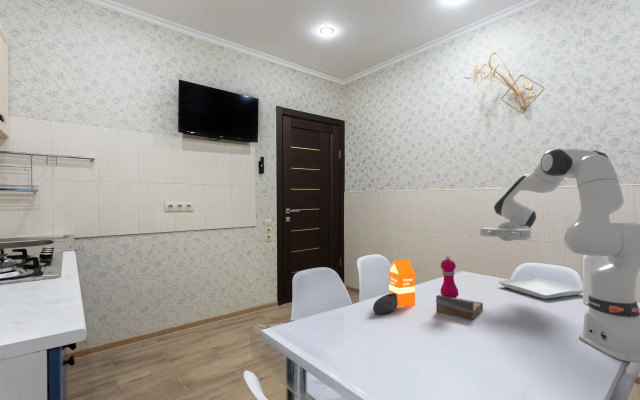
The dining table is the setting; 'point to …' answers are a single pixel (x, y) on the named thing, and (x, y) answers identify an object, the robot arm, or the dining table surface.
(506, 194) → the robot arm
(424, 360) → the dining table surface
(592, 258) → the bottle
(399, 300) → the orange juice
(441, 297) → the walnut stand
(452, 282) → the pepper mill
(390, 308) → the perforated stone tool
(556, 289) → the square plate
